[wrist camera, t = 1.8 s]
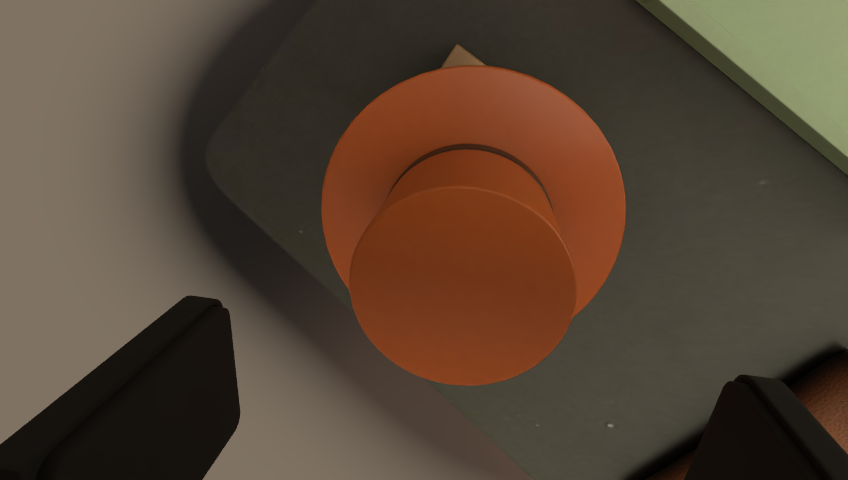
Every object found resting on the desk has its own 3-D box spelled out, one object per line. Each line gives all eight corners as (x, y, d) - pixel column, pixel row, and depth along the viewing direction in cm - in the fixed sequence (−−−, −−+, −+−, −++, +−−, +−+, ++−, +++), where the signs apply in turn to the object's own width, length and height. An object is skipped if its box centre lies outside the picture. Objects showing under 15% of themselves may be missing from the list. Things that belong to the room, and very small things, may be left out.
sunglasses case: (698, 541, 36) (699, 601, 30) (630, 464, 39) (619, 506, 33) (927, 415, 29) (984, 462, 24) (826, 331, 32) (856, 354, 26)
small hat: (278, 245, 18) (198, 321, 13) (431, -9, 14) (399, -41, 9) (493, 385, 20) (495, 503, 15) (691, 192, 16) (792, 262, 10)
